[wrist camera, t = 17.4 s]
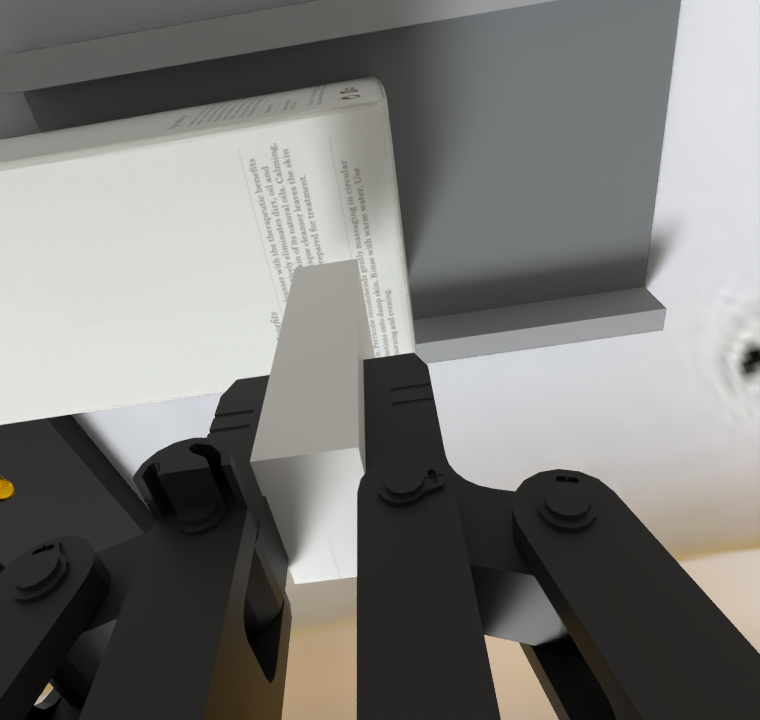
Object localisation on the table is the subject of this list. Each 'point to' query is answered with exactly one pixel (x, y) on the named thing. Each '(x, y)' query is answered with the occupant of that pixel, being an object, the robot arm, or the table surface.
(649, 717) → the robot arm
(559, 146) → the rubber tray
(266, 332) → the skincare box
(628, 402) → the table surface
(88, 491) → the cassette tape
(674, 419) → the table surface
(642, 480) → the table surface
